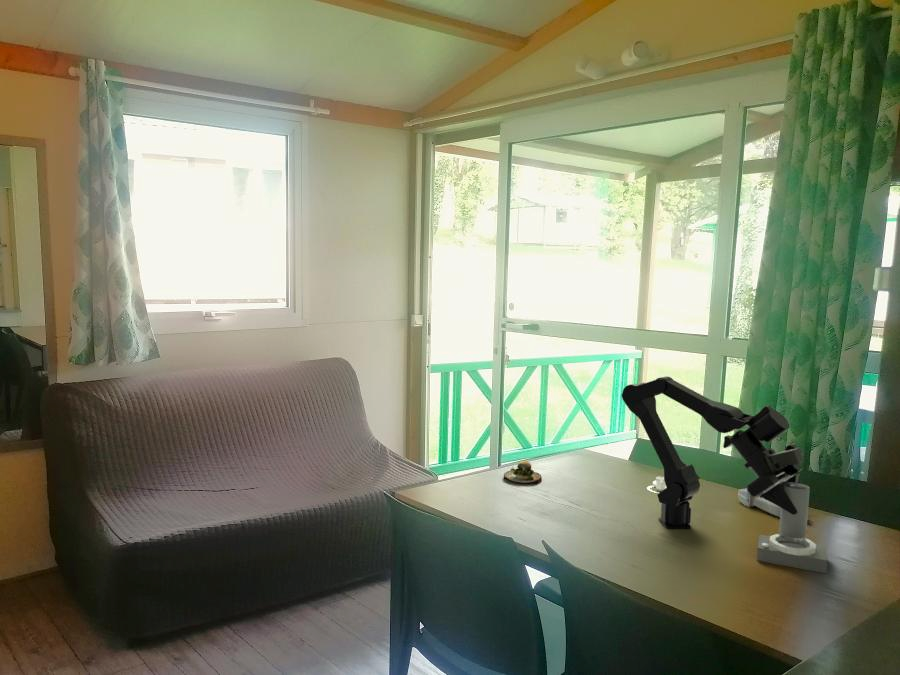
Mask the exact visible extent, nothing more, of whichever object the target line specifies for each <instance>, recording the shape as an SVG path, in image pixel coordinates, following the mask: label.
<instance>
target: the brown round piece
mask: <svg viewBox="0 0 900 675" xmlns="http://www.w3.org/2000/svg"><path fill="white" fill-rule="evenodd" d="M516 467H517V468H515V467H512V468H510V470H508V471H506V472H504V474H503V478H506V479H508V480H510V481H512V482H516V483H522V484H523V483H525V484H526V483H527V484H529V483H535V482H537V484H536V485H539V484H540V483H542V480H543V478H542V475H541V474H540V473H538V472H536V471H534V470H533V469H532V464H531V462H529V461H528V460H523V461H520V462H518V464H517V465H516Z"/></svg>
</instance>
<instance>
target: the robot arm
mask: <svg viewBox="0 0 900 675" xmlns="http://www.w3.org/2000/svg"><path fill="white" fill-rule="evenodd" d="M621 392H622V393H621V398H622V401H623V403H624V404H625V406H626V407H627V409H628V410H629V411H630V412H632V414H633V415H634V416H636V417H637V418H638V419H639V421H640V423H641V425H642V426H643V429H644V431H645V433H646V435H647V437H648V439H649V441H650V443H651V445H652V447H653V449H654V451H655V454H656V455H657V457H658V460H659V461H660V464H661V465H662V468H663V477H664V481H665V485H666V488H665V489H664V490H663V491H659V493H657V498H658V501H659V503H660V504H661V506H660V507H661V508H660V510H661V511H660V517H658V521H659V522H660V523H661V524H662V525H663V526H664V527H665V528H666V529H691V528H692V525H691V521H692V520H691V518H692V517H691V516H692V508H691V507H690V501H691V500H692V499H693V498H694V496H695V495H697V493H699V490H700V487H701V483H700V479H701V478H700V476H699V475H698V474H697V472H696V470H695V469H696V468H695V466H694V465H693V464H689V465H686V463H685V462H684V461H682V460H681V457H680V456H679V454H678V452H677V449H676V448H675V446H674V443H673V442H672V440H671V438H670V435H669V434H668V432H667V430H666V428H665V426H664V424H663V422H662V420H661V417H660V416H659V414H658V411H657V399H656V396H659V395H661V394H662V395H664V396H666V397H667V398H670V399H672V400H673V401H675V402H676V403H679V404H680V405H682V406H684V407H686V408H688V410H691V411H693V412H695V413H696V414H698V415H699V416H701V418H703V419H704V420H705V422H706V423H707V424H708V425H709V426H711V427H712V428H713V429H714V430H715V431H717V432H718V433H721V434H728V433H731V432H734V431H736V430H737V431H736V432H734V433H733V434H732V435H725V436H724V437H723V438H724V441H723V446H722V448H723V449H726V448H730V447H734V448H735V450H736V451H737V453H738V454H739V456H740V457H742V459H743V460H744V462H745V464H744V467H745V468H746V469H749V468H750V469H751V470H752V472H754V474H755V475H756V477H757V478H756V479H755V480H754V481H751V482H750V483H749V484H747V491H748V493H749V494H750V495H751V496H752V498H753V497H755V496H757V495H759V493H761V492H762V491H763V493H764V494H762V495H761V496H759V497H760V498H764V499H766V500H768V501H770V502H772V503H774V504H775V505H777V506H779V507H781V508H782V509H784V510H786V511H788V512H789V513H791V514H793V515H795V514H796V513H797V510H796V508H795V506H794V505H793V503H792V502H791V500H790V499H789V497H788V495H787V494H786V492H785V491H784V483H786V482H793V483H799V477H800V475H801V473H800V471H802V470H803V469H804V468H803V467H802V466H801V464H800V463H801V462H804V461H805V460H804V456H803V454H804V451H803V450H802V449H801V448H800V446H797V444H795V443H792V444H789V445H786V446H785V449H784V450H782V451H779V452H776V451H775V449H773V448H767V447H766V446H765V444H764V443H763V442H766V443H771V442H772V441H774V440H775V439H776V438H778V437H779V436H780V435H782V434H783V433H785V432H787V430H789V429H790V427H791V426H790V424H789V421H788V419H787V418H786V416H785V415H783V414H781V413H780V412H779V411H777V410H775V409H773V408H772V406H771V405H766V406H764V407H763V408H762V409H761V410H760V411H759V412H758V413H756V414H755V415H751V414H747V413H745V412H743V411H742V410H741V409H740V408H739V407H737V406H733V405H732V404H727V403H725V402H720V401H714V400H712V399H710V398H708V397H706V396H704V395H702V394H701V393H699V392H697V391H695V390H693V389H691V388H689V387H688V386H686V385H684V384H682V383H681V382H678V381H676V380H675V379H674V378H672V377H670V376H663V377H662V376H660V377H657V378H656V379H653V380H651V381H648V382H636V383H633V384H628V385H626V386H625V387H624V388H623V390H622V391H621ZM746 427H748V428H747V429H746V430H741V429H743V428H746Z"/></svg>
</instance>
